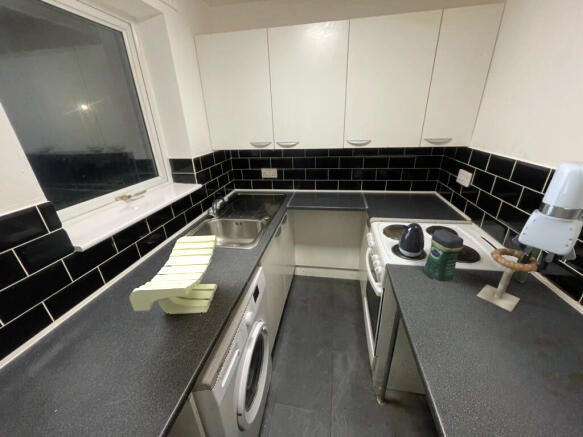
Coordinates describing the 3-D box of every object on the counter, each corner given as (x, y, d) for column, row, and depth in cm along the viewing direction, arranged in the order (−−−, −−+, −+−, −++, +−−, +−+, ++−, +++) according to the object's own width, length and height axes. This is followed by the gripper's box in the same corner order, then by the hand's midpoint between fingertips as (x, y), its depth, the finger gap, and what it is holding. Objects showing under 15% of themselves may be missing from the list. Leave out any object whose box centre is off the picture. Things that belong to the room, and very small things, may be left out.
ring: (542, 264, 69) (545, 258, 69) (532, 278, 64) (535, 271, 63) (497, 249, 78) (499, 243, 77) (485, 260, 72) (487, 254, 71)
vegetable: (511, 283, 84) (532, 235, 76) (506, 275, 88) (526, 229, 79) (527, 285, 82) (550, 237, 74) (521, 278, 86) (543, 231, 78)
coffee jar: (456, 281, 86) (470, 238, 78) (437, 284, 85) (450, 241, 77) (437, 266, 95) (448, 226, 87) (420, 269, 93) (429, 228, 86)
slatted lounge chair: (185, 274, 97) (175, 237, 90) (223, 272, 97) (215, 235, 90) (145, 336, 70) (125, 290, 62) (197, 334, 70) (184, 287, 62)
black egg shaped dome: (394, 247, 109) (398, 218, 103) (417, 248, 108) (423, 218, 102) (400, 259, 100) (405, 228, 94) (425, 260, 99) (433, 229, 92)
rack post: (518, 301, 76) (534, 268, 71) (509, 314, 71) (526, 280, 66) (485, 286, 83) (497, 256, 77) (475, 297, 78) (487, 266, 73)
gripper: (611, 216, 56) (575, 277, 63) (522, 199, 68) (501, 252, 76) (608, 225, 52) (570, 288, 60) (514, 205, 64) (493, 260, 72)
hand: (531, 267), depth 67 cm, fingers closed on ring, 2 cm apart
